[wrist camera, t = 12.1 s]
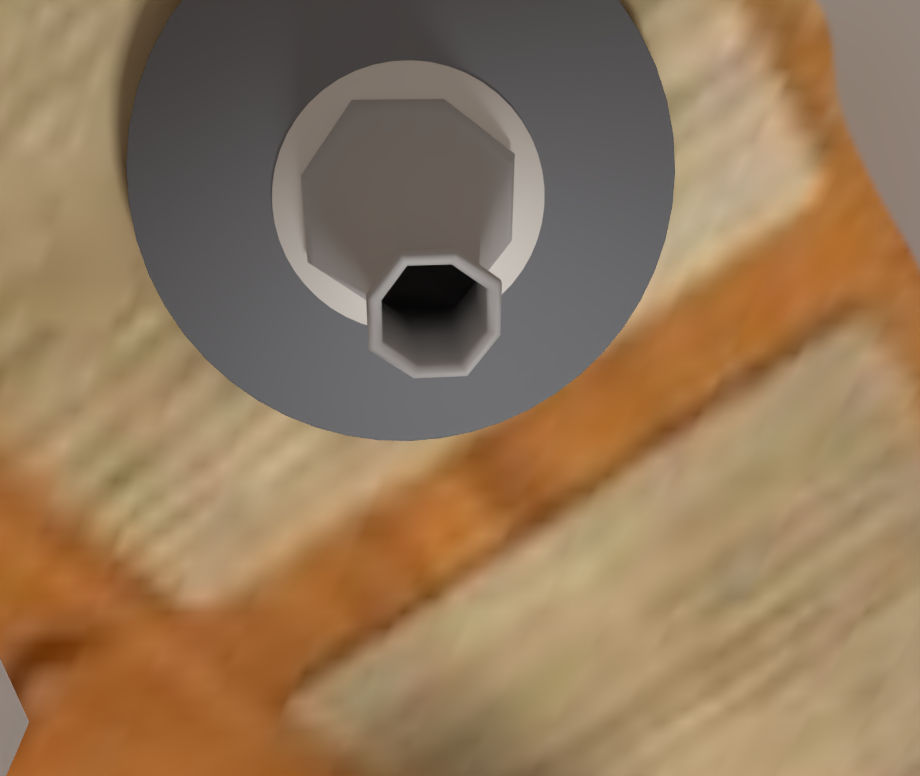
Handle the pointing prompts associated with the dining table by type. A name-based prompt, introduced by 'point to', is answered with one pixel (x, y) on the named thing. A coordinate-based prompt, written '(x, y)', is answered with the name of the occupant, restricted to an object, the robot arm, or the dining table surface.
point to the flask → (414, 228)
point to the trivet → (304, 130)
